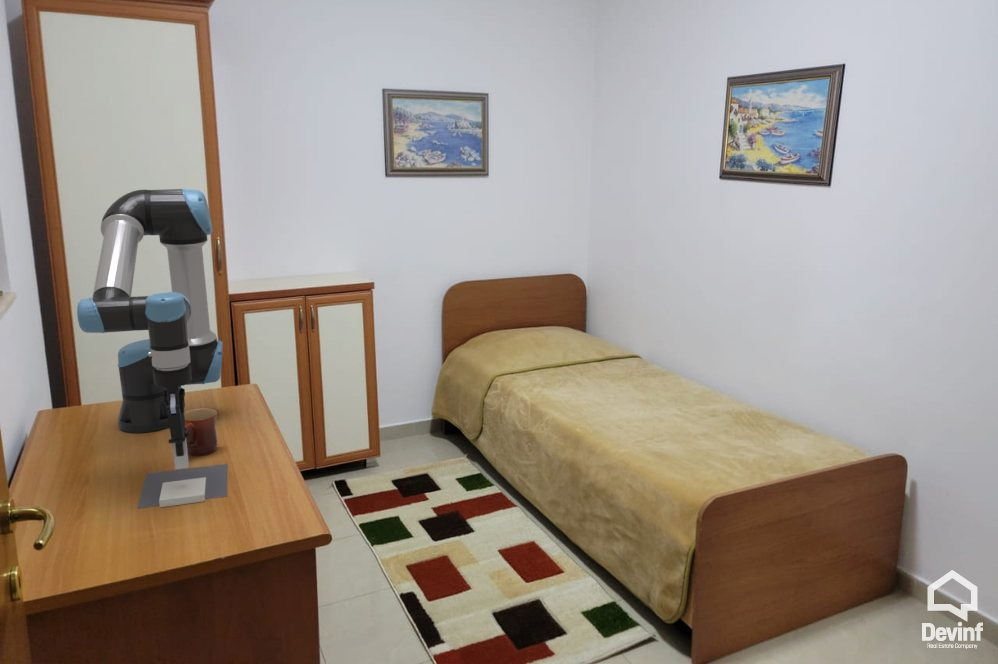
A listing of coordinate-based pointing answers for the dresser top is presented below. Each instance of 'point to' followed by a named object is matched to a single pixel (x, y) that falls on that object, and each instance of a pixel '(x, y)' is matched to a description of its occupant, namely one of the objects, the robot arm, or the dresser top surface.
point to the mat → (213, 474)
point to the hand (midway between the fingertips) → (182, 467)
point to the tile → (183, 492)
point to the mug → (201, 431)
